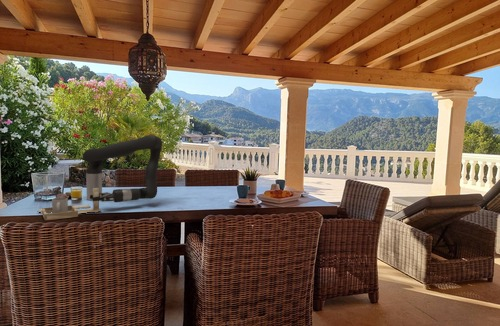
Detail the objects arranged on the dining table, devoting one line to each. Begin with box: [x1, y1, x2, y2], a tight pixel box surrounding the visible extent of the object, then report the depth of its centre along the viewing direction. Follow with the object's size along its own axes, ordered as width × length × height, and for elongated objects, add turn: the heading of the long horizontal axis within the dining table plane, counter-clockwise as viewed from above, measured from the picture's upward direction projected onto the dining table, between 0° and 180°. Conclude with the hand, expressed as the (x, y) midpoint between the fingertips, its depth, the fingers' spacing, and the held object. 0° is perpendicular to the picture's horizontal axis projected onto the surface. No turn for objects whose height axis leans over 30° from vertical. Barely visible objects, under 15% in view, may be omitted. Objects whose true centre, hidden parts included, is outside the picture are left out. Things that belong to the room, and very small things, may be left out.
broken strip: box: [37, 204, 91, 213], centre depth 189 cm, size 5×26×1 cm, turn 127°
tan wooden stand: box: [41, 188, 102, 221], centre depth 180 cm, size 15×28×13 cm, turn 127°
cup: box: [51, 197, 69, 213], centre depth 176 cm, size 7×10×9 cm
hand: (91, 198), depth 185 cm, fingers open, 5 cm apart
